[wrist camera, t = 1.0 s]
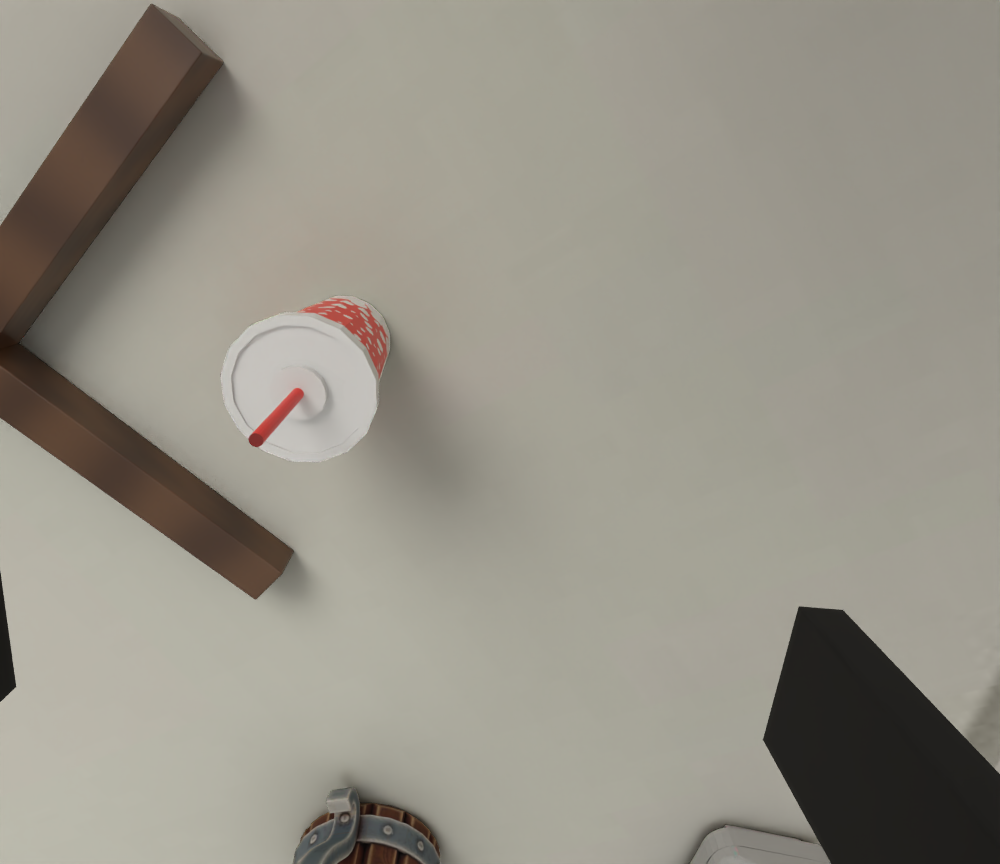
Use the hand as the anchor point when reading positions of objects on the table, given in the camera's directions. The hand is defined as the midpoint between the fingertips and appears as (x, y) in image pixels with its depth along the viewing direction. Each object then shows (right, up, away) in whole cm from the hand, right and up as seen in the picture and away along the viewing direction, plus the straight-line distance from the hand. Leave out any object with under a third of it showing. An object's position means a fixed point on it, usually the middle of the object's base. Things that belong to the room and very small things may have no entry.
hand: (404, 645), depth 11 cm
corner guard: (-18, +8, +23) cm, 30 cm away
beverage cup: (-6, +8, +23) cm, 25 cm away
